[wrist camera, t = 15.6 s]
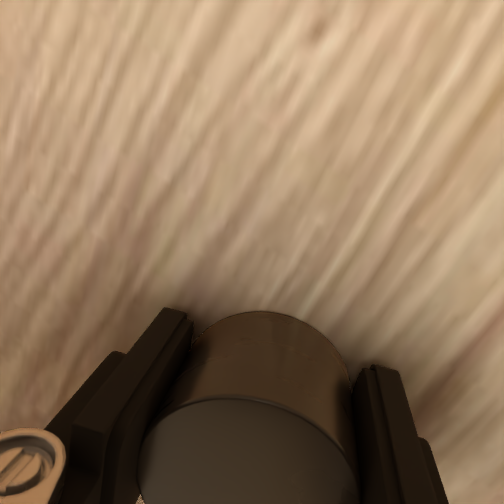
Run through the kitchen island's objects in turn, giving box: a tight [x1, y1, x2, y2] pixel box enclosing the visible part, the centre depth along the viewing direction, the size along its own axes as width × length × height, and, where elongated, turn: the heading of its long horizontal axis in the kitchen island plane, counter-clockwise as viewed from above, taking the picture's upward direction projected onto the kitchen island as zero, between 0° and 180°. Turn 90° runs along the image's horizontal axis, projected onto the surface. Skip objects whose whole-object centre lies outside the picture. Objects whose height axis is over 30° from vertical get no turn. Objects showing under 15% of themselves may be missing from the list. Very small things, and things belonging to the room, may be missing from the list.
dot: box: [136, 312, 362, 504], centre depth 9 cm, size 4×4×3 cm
